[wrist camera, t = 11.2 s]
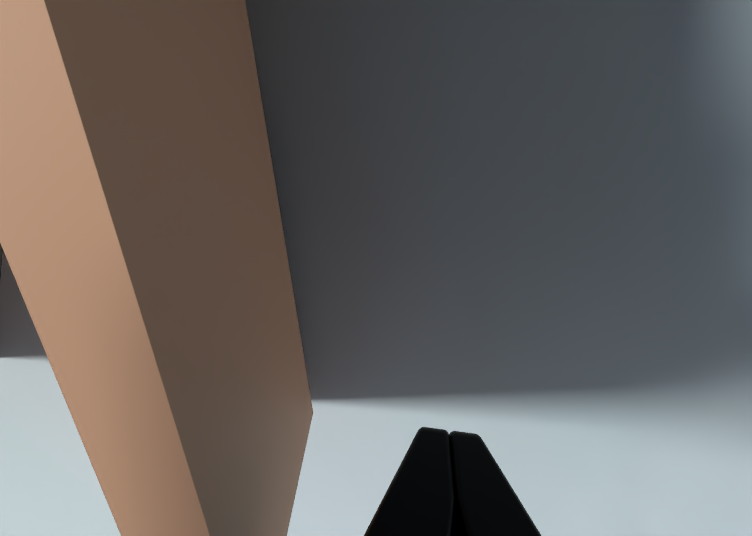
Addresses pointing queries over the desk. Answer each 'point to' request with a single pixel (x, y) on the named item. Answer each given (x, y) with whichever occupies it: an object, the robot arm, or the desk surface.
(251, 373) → the door
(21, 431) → the desk surface
